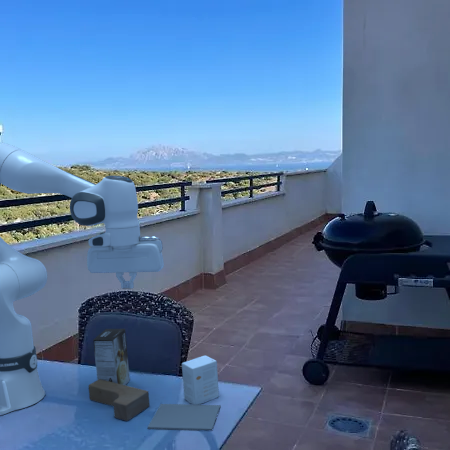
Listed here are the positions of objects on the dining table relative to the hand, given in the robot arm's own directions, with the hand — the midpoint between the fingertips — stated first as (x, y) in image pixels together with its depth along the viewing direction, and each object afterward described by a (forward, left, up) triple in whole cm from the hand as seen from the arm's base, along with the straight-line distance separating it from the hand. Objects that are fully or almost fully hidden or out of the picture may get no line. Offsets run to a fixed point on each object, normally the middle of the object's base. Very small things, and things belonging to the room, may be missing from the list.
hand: (127, 288), depth 144 cm
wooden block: (+4, -9, -29) cm, 30 cm away
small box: (+18, +1, -31) cm, 36 cm away
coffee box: (-9, +7, -31) cm, 33 cm away
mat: (+16, -10, -31) cm, 36 cm away
